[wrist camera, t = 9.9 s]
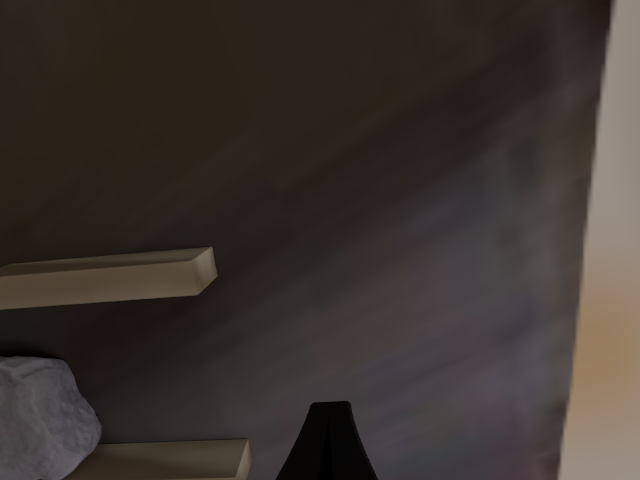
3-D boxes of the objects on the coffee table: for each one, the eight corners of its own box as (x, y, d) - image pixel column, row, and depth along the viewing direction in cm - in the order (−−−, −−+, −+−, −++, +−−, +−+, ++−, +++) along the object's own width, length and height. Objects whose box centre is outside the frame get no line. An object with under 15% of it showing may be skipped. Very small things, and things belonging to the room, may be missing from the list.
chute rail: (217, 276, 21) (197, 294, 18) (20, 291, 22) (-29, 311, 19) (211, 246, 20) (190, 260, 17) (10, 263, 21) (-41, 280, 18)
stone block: (-48, 355, 26) (-12, 471, 26) (-137, 384, 21) (-92, 526, 21) (82, 318, 25) (119, 439, 25) (20, 340, 20) (66, 489, 20)
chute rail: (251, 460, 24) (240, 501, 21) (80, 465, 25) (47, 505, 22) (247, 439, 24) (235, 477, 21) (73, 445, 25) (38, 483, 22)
